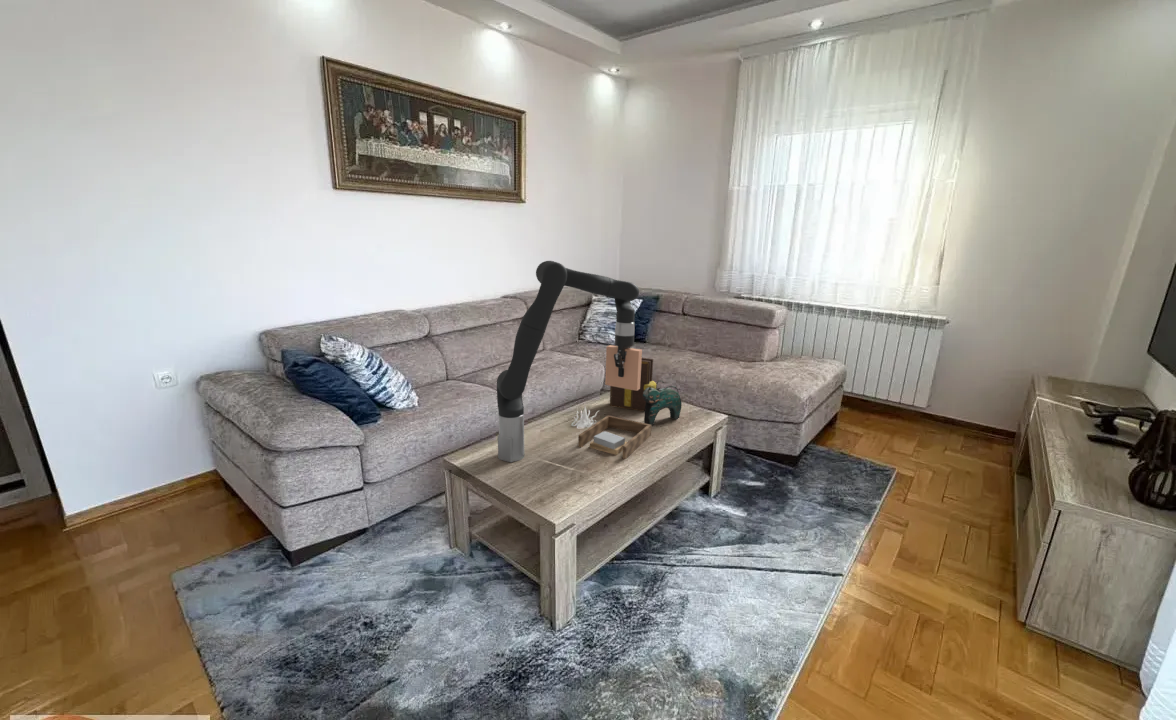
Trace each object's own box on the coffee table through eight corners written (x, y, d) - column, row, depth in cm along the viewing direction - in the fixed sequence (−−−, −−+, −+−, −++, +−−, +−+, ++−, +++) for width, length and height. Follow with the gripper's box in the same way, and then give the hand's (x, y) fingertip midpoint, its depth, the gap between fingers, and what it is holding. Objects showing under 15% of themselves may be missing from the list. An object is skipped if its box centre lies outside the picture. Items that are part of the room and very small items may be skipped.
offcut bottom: (616, 456, 187) (617, 450, 187) (589, 449, 193) (589, 443, 192) (627, 448, 195) (627, 442, 194) (600, 441, 201) (600, 435, 200)
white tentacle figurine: (568, 425, 215) (568, 405, 213) (588, 418, 223) (588, 399, 221) (582, 431, 209) (582, 410, 207) (601, 424, 217) (602, 404, 215)
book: (607, 408, 237) (609, 357, 230) (613, 402, 244) (615, 353, 238) (652, 415, 229) (655, 363, 222) (656, 409, 236) (659, 358, 230)
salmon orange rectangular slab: (636, 390, 193) (638, 351, 189) (605, 384, 199) (606, 346, 195) (639, 388, 195) (642, 349, 191) (608, 383, 202) (609, 345, 198)
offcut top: (613, 449, 187) (614, 443, 187) (593, 442, 194) (593, 436, 193) (624, 443, 193) (624, 438, 192) (604, 436, 199) (604, 431, 198)
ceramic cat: (646, 428, 213) (649, 384, 208) (638, 423, 218) (640, 380, 213) (682, 420, 222) (685, 378, 217) (673, 416, 228) (676, 374, 223)
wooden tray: (625, 459, 184) (625, 446, 182) (578, 446, 193) (578, 435, 192) (651, 435, 205) (651, 424, 204) (607, 426, 215) (607, 415, 213)
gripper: (625, 337, 184) (623, 381, 188) (640, 331, 196) (638, 373, 200) (607, 335, 188) (606, 378, 192) (623, 329, 200) (622, 370, 204)
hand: (622, 375), depth 196 cm, fingers closed on salmon orange rectangular slab, 3 cm apart
